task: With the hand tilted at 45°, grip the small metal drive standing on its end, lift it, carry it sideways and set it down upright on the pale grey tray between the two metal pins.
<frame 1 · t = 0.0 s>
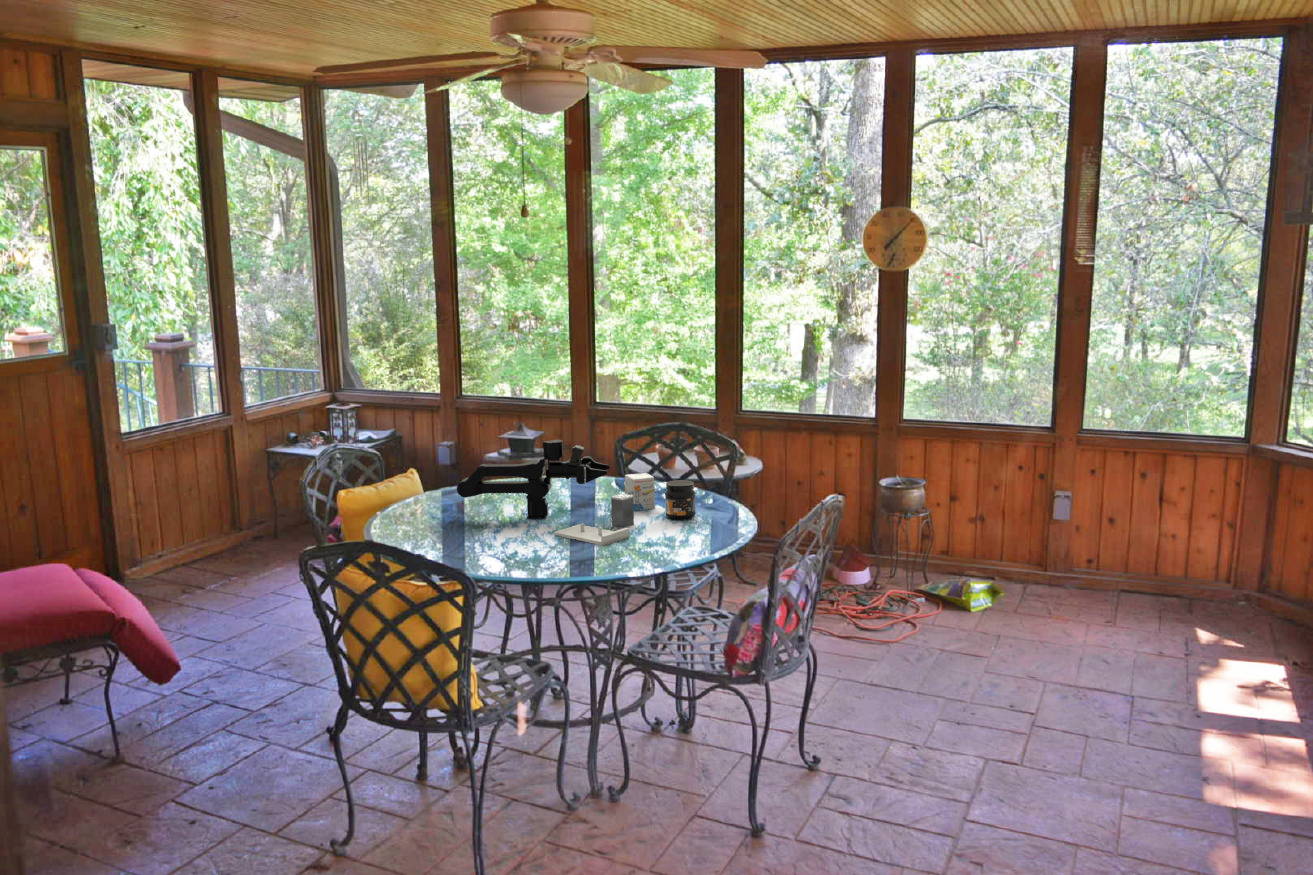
hand: (608, 469, 369), 17 cm above the table, tool horizontal, fingers open, 9 cm apart
ink box: (640, 507, 384), on the table
drive: (622, 525, 359), on the table
supplement container: (680, 517, 369), on the table
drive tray: (591, 536, 346), on the table
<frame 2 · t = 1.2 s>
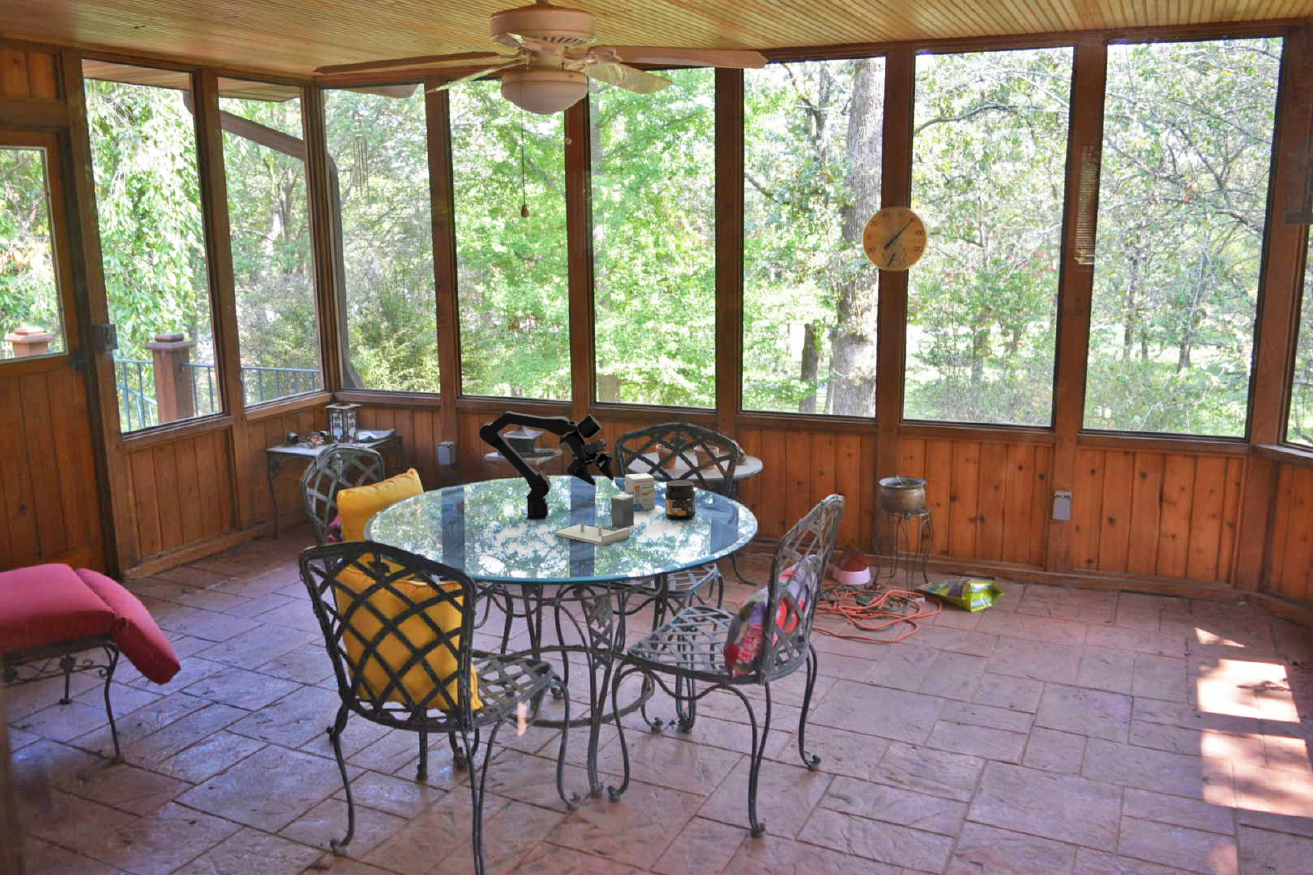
hand: (603, 482, 362), 14 cm above the table, tool tilted 45°, fingers open, 9 cm apart
nothing on the table moved.
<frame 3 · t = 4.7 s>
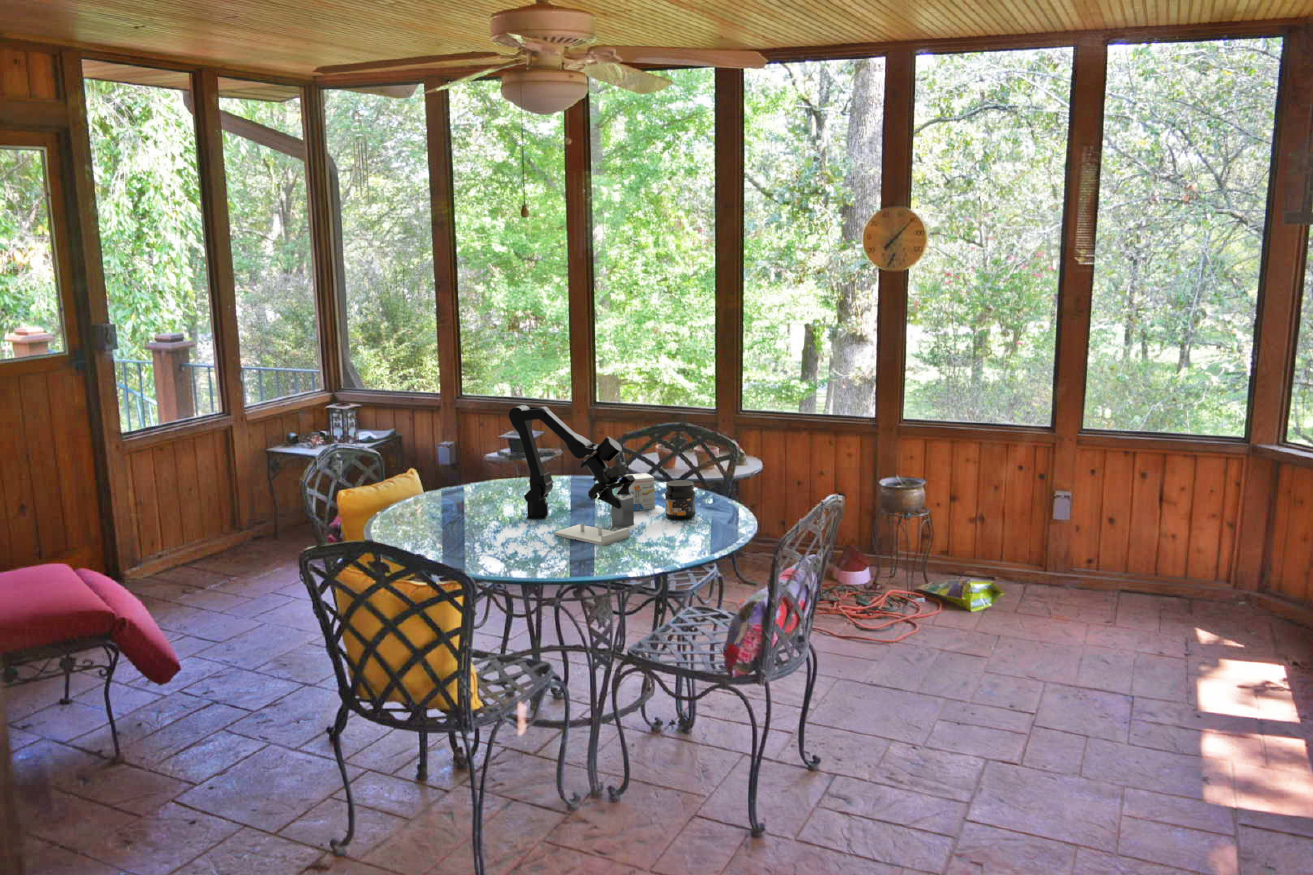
hand: (625, 506, 357), 7 cm above the table, tool tilted 45°, fingers closed on drive, 5 cm apart
drive: (623, 525, 359), on the table, touching gripper
everything else where it was.
when the fingers open (8 cm above the table, at t = 11.0 s): drive stays where it is, resting on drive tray.
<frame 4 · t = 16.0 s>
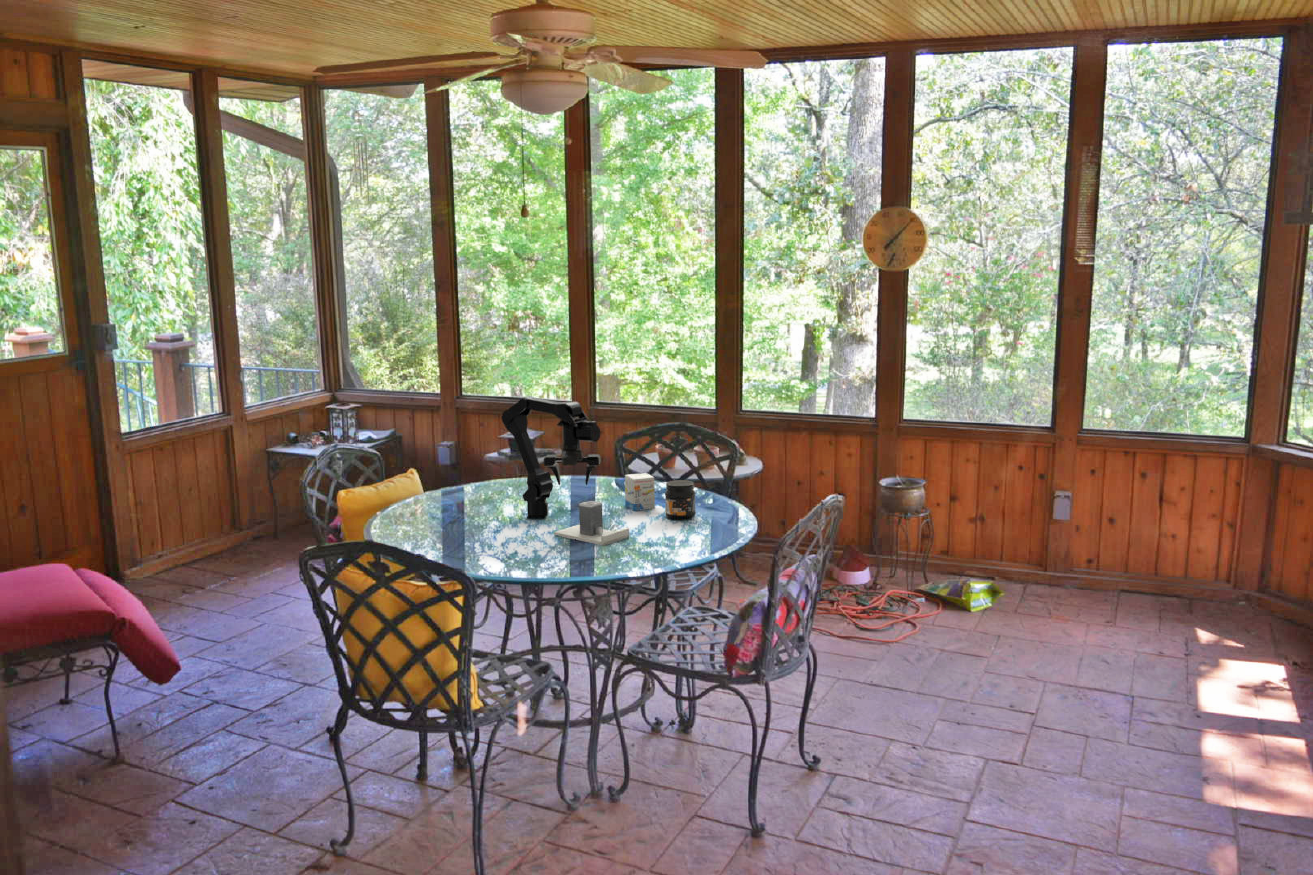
hand: (573, 484, 362), 13 cm above the table, tool pointing down, fingers open, 9 cm apart
drive: (591, 533, 346), point 1 cm above the table, touching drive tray
everything else where it was.
at the end: drive 0.1 cm off-centre on the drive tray, point 1.0 cm above the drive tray's base; drive tilted 0°; the gripper is holding nothing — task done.
